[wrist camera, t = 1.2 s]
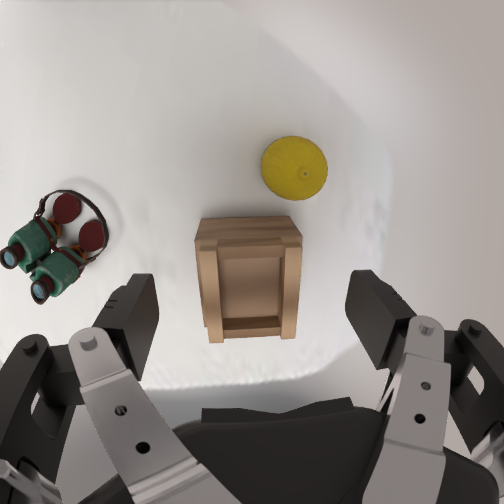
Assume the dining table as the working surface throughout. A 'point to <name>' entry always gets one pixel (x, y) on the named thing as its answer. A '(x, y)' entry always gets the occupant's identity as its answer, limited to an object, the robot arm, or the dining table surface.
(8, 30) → the dining table surface
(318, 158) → the lemon
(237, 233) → the wooden crate
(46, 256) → the binoculars
